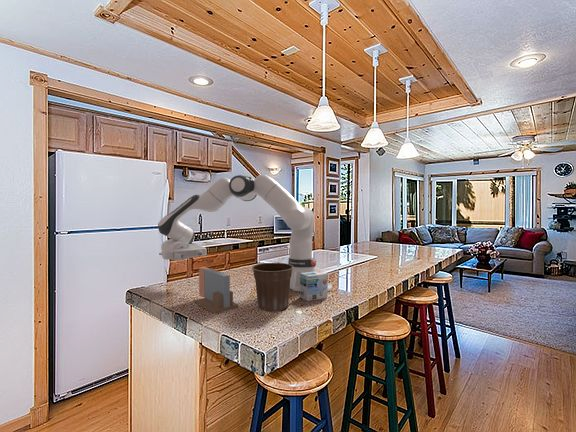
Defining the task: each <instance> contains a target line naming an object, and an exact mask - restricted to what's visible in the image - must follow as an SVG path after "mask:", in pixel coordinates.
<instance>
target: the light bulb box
mask: <svg viewBox="0 0 576 432" xmlns="http://www.w3.org/2000/svg"><path fill="white" fill-rule="evenodd" d="M321 271H322V270H321ZM321 271H315V272H306V273H300V291H299V298H302V299H303V300H305V301H306V302H310V301H315V300H322V299H328V292H329V291H328V283H329V282H328V281H329V280H328V279H329V278H328V277H329V275H328V273H326V272H324V271H323V272H321ZM327 291H328V292H327Z"/></svg>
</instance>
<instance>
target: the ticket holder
mask: <svg viewBox="0 0 576 432" xmlns="http://www.w3.org/2000/svg"><path fill="white" fill-rule="evenodd" d="M230 277H231V275H229V274H227V273H224V272H221V271H218V270H215V269H212V268H210V269H205V298H204V297H202V298H198V299H196V300H195V301H196V304H197V305H198V306H201V307H202V308H204V309H206V310H207V311H210V312H212V313H213V314H215V315H216V314H219V313H224V312H228V311H232V310H236V309H239V303H236V302H234V291H232V290H230V289H231V286H230V285H231V282H230V280H231V279H230Z"/></svg>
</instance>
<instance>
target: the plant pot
mask: <svg viewBox="0 0 576 432" xmlns="http://www.w3.org/2000/svg"><path fill="white" fill-rule="evenodd" d="M251 269H252V271H253V279H254V281H255V291H256V299H257V307H258V309H259V310H261V311H266V312H280V311H283V310H286V309H288V308H289V305H290V304H289V303H290V300H289V299H290V290H291V289H290V279H291V276H292V269H293V266H292V265H290V264H288V263H284V262H266V263H259V264H256V265H252V267H251Z"/></svg>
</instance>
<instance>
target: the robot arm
mask: <svg viewBox="0 0 576 432" xmlns="http://www.w3.org/2000/svg"><path fill="white" fill-rule="evenodd" d="M257 196H259V197H261V199H262V200H264V201H265V202H266V203H267V204H268V205H269V207H271V208H272V209H273V210H274V211H275V212H276V213H277V214H278V215H279V217H280V219H282V220H283V222H284V223H285V224H286V225H287V227H288V228H289V229H291V234H290V238H289V239H290V240H289V242H288V243H289V254H288V255H289V257H288V259H287V260H288V261H287V264H290V265H292V266H293V269H292V276H291V279H290V290H291V291H294V292H300V273H306V272H315V271H321V272H324V271H323V270H322V269H320V268H319V267H318V266H317V259H315V258H313V237H314V229H315V228H314V227H315V212H313V210H312V209H310V207H307V206H302V205H301V204H300V203H299V202H298V201H297V200H296V199H295V198H294V197H293V195H292V194H291V193H290V192H289V191H288V190H287V189H285V188H284V187H283V185H281V184H280V183H279V182H277V181H276V180H275V179H274V178H272V177H271V176H269V175H267V174H265V173H262V174H259V175H257V176H256V177H255V178H253V177H251V176H247V175H242V174H238V175H235V176H233V177H232V178H231V179H230V178H228V177H225V176H224V177H220V178H219V179H218V180H216V181H215V182H214V183H213V184H211V186H209V187H208V189H206V191H204V192H203V193H201V194H193V195H192V196H190V197H189V198H188V199H187V200H185V201H184V202H182V203H181V204H180V205H179V206H177V207H176V208H175V209H174V210H172V211H171V212H170V213H168V214H167V215H165V216H163V217H162V218H161V219H160V220H159V222H158V224H157V228H158V231H159V234H160V235H163V236H166V237H168V238H169V239H168V240H167V239H166V240H164V241H163V242H162V243H161V245H160V246H161V247H160V249H161V252H159V253H158V254H159V255H160V256H161V258H162V259H164V260H167V261H168V260H174V261H178V262H181V261H182V262H183V261H185V260H187V259H191V258H197V257H205V256H207V254H208V253H207V252H208V251H207V247H205V246H203V245H198V243H193V242H194V239H195V231H194V229H192V228H191V227H189V226H188V225H186V224H185V223H183V222H181V221H180V219H181V218H182V217H183V216H184V215H186V214H187V213H188V212H190V211H192V210H199V211H203V212H207V213H209V212H210V213H214V212H217V211H219V210H220V209H221V208H223V206H225V204H226V203H227V202H229V201H228V200H229V199H231V198H233V197H235V198H237V199H239V200H240V201H244V202H251V201H253V200H255V198H256V197H257ZM332 289H333V285H332V284H331V283H330V282H328V291H327V293H328V292H329V291H331V290H332Z"/></svg>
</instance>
